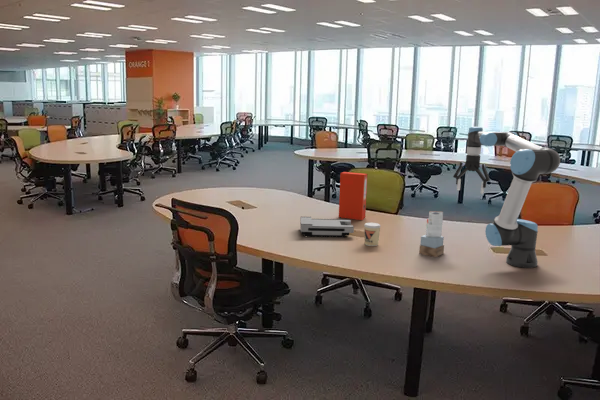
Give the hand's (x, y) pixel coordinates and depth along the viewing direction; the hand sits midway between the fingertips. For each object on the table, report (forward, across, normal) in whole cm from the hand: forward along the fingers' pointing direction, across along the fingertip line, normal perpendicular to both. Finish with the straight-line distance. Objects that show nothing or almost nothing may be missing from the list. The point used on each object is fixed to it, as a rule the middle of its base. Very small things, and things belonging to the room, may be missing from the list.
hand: (470, 191), depth 295 cm
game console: (+33, +78, +30) cm, 90 cm away
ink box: (+23, +9, +25) cm, 35 cm away
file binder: (+33, +89, -18) cm, 97 cm away
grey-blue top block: (+28, +10, +25) cm, 39 cm away
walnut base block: (+33, +10, +25) cm, 43 cm away
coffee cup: (+33, +44, +32) cm, 64 cm away
